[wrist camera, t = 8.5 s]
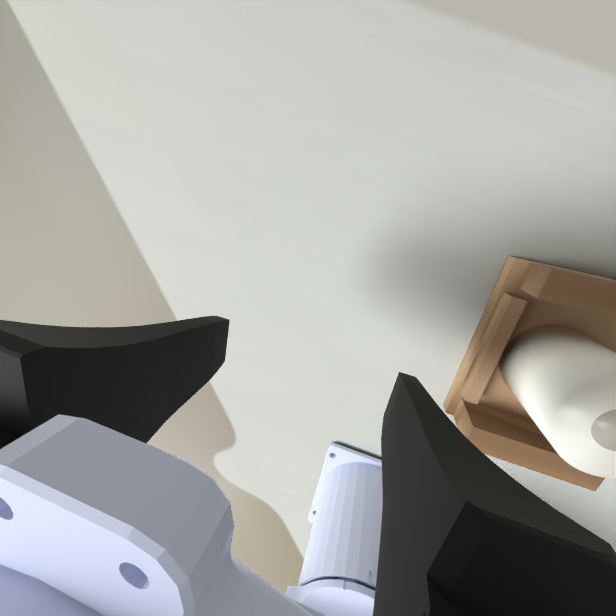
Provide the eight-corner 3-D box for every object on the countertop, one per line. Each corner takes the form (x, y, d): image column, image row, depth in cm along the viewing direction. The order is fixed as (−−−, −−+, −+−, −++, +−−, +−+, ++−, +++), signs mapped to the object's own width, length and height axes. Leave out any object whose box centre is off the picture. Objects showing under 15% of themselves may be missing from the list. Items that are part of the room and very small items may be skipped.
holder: (564, 443, 20) (605, 494, 16) (443, 404, 21) (454, 443, 18) (664, 290, 16) (746, 312, 12) (508, 255, 18) (540, 266, 14)
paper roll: (575, 409, 18) (662, 496, 12) (487, 388, 19) (531, 459, 13) (613, 336, 16) (733, 396, 11) (516, 316, 17) (580, 363, 12)
